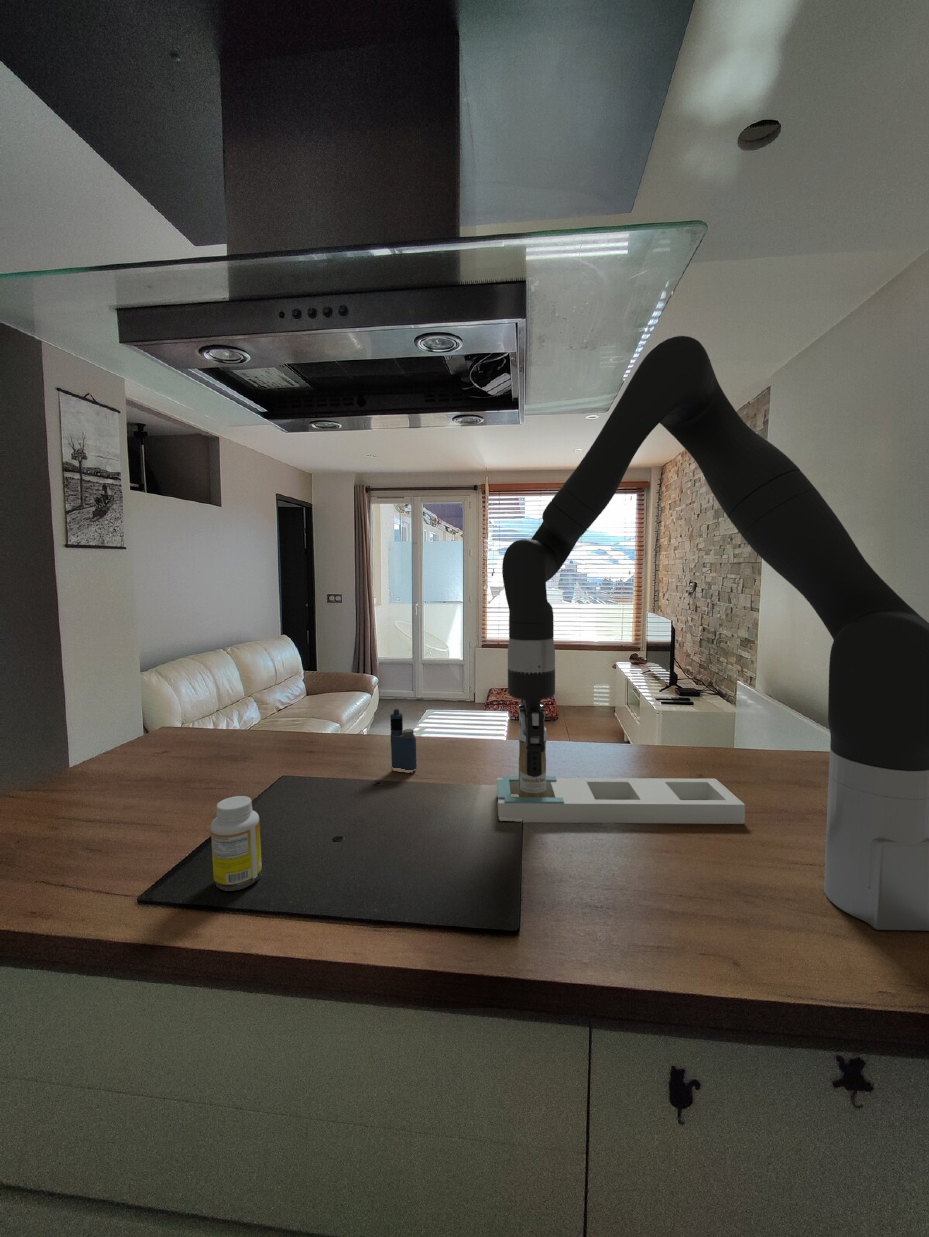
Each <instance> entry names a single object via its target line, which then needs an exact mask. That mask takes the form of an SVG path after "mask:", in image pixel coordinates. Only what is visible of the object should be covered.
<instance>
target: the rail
mask: <svg viewBox="0 0 929 1237" xmlns="http://www.w3.org/2000/svg"><path fill="white" fill-rule="evenodd" d="M511 794H518V795H519V775H516V776H514V775H510V776H509V775H505V776H503V775H502V777H496V795H497V797H498V802H497V815H498V816H499V817H506V818H518V819H519V818H521V819H522V820H523V822H522V823H553V824H554V823H558V824H559V823H567V824H568V823H569V824H570V823H571V824H572V823H573V824H574V823H576V824H577V823H578V824H579V823H581V824H583V823H584V824H590V823H591V824H698V825H699V824H708V825H709V824H712V825H713V824H716V825H719V824H720V825H721V824H723V825H727V824H728V825H730V824H732V825H744V824H745V820H746V819H745V818H746V817H745V814H746V804H745V803H744V802H743V801H742V800H741V799H739V798H738V797H737V796H735V795H734V793H732V792H731V791H730V790H729V789H728V788H727V787H726V786H725V785H723V784H722V783H721V782H720V781H719V780H717V779H716V778H676V777H675V778H673V777H672V778H671V777H670V778H659V777H658V778H657V777H656V778H655V777H654V778H653V777H650V778H639V777H638V778H636V777H634V778H633V777H632V778H631V777H629V778H626V777H624V778H623V777H622V778H621V777H617V778H615V777H614V778H611V777H610V778H609V777H607V778H606V777H601V778H600V777H598V778H597V777H589V778H588V777H585V778H584V777H569V778H568V777H557V776H554V775H553V776H549V775H546V795H545V797H511ZM497 797H496V798H497ZM498 816H497V817H498Z"/></svg>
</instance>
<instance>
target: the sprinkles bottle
mask: <svg viewBox="0 0 929 1237" xmlns="http://www.w3.org/2000/svg"><path fill="white" fill-rule="evenodd" d="M544 729H545V734H544V746H545V750H544V752H541V775H540V776H528V775H527V752H526V750H525V747H526V740H525V738H523V737H522V726H520V725H519V727H518V731H517V732H518V733H517V738H518V745H519V748H518V749H519V750H518V751H519V752H518V753H519V754H518V776H519V797H545V795H546V776H547V756H546V750H547V749H546V748H547V746H546V744H547V740H548V730H547V728H546V726H544ZM531 744H538V739H537V738H531Z"/></svg>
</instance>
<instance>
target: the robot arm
mask: <svg viewBox="0 0 929 1237" xmlns="http://www.w3.org/2000/svg"><path fill="white" fill-rule="evenodd" d="M659 424H660V425H661V426H662V427H663V428H665V430H666V431H667V432H668V433H669V434H671V435H672V436H673V437H674V439H676V441H677V442H678V443H679V444H680V445H681V446H682V447H683V448H684V449H685V451H687V452H688V454H689V455H690V456H691V457H692V459H693V460H694V461H695V462H696V464H697V466H698V467H699V469H700V471H701V473H702V475H703V477H704V479H705V480H706V483H707V485H708V487H709V490H710V491H711V493H712V494H713V496H714V497H715V500H716V501H717V503H718V504H719V506H720V507H721V509H722V511H723V512H724V514H725V515H726V517H727V518H728V519H729V521H730V522H731V523H732V525H733V526H734V527H735V529H736V530H737V532H738V533H739V534H740V536H741V537H742V538H743V539H744V541H745V542H746V543H747V544H748V545H749V546H750V548H752V550H753V551H754V553H756V554H757V555H758V556H759V557H760V558H761V559H762V560H763V561H764V562H765V563H766V564H767V565H769V566H770V567H771V568H772V569H773V570H774V571H775V572H776V573H778V574H779V575H780V577H782V578H783V579H785V581H787V582H788V583H789V584H790V585H791V586H792V587H793V588H795V589H796V591H798V592H799V593H800V594H801V595H802V596H803V598H805V600H806V601H807V603H809V604H810V606H811V607H812V609H813V610H814V611H815V613H816V614H817V616H818V618H820V620H821V622H822V623H823V625H824V626H825V628H826V630H827V632H828V633H829V635H830V636H831V638H832V639H833V642H832V644H831V646H830V647H831V649H830V654H829V665H828V694H827V695H828V699H827V700H828V701H827V702H828V703H827V704H828V705H827V709H828V710H827V724H828V728H829V733H830V741H829V742H830V746H829V747H830V748H829V765H828V767H829V768H828V783H827V784H828V788H827V806H826V807H827V810H826V833H825V834H826V835H825V851H824V853H825V855H824V879H823V880H824V883H823V884H824V885H823V891H824V894H825V896H826V897H827V900H829V901H830V902H831V903H833V904H834V906H836V907H837V908H839V909H840V910H842V911H843V912H845V913H847V914H848V915H850V916H852V917H854V918H857V919H858V920H862V921H863V922H866V923H867V924H869V926H871V927H872V929H874V930H879V931H928V932H929V622H928V621H927V620H926V619H925V618H924V617H922V616H921V615H920V614H919V612H917V611H916V610H915V609H914V608H912V607H911V606H910V605H909V604H908V602H906V601H905V600H904V599H902V597H901V596H900V595H898V594H897V593H896V591H894V589H893V588H892V587H890V585H888V583H887V582H885V580H884V579H882V578H881V577H880V575H879V574H878V573H877V572H876V571H875V570H874V569H873V568H872V566H871V565H870V563H868V561H867V560H866V559H865V558H864V556H863V554H862V553H861V552H860V550H859V548H858V547H857V544H855V542H854V540H853V539H852V537H851V536H850V534H849V532H848V530H847V529H846V528H845V526H844V524H843V523H842V522H841V521H840V519H839V518H838V516H837V514H836V513H835V512H834V511H833V509H832V508H831V506H830V505H829V504H828V503H827V501H826V500H825V498H823V496H822V494H821V493H820V492H819V491H818V490H817V488H816V486H814V485H813V483H812V482H811V480H809V479H808V477H807V476H806V475H805V474H804V472H802V470H801V469H800V468H799V467H798V466H797V465H796V464H795V463H794V461H793V460H791V459H790V458H789V457H788V456H787V455H786V454H785V453H784V452H783V451H782V450H780V449H779V448H778V447H776V446H775V445H774V444H773V443H771V442H770V441H769V440H767V439H765V438H764V437H762V435H760V434H759V433H757V432H755V430H753V429H752V428H751V427H750V426H748V424H747V423H746V422H745V421H744V420H743V418H742V417H741V416H740V415H739V414H738V412H737V411H736V409H735V408H734V406H733V405H732V403H731V402H730V400H729V399H728V397H727V396H726V394H725V393H724V391H723V388H722V387H721V385H720V383H719V381H718V378H717V376H716V373H715V371H714V368H713V365H712V362H711V359H710V357H709V355H708V353H707V350H706V349H705V347H704V346H703V345H702V343H701V342H700V341H699V340H697V339H696V338H694V337H691V336H688V335H675V336H671V337H668V338H666V339H665V340H662V341H660V342H659V343H657V344H656V345H655V346H654V347H652V348H651V349H650V350H649V352H648V353H647V354H646V355H645V356H644V358H643V359H642V360H641V362H640V364H639V366H638V367H637V369H636V370H635V371H634V374H633V375H632V377H631V379H630V381H629V382H628V384H627V386H626V388H625V389H624V391H623V392H622V395H621V396H620V398H619V400H618V402H617V404H616V405H615V407H614V408H613V410H612V412H611V414H610V415H609V417H608V418H607V420H606V421H605V424H604V425H603V427H602V429H601V430H600V432H599V433H598V435H597V436H596V438H595V440H594V441H593V443H592V445H591V446H590V448H589V449H588V451H587V452H586V453H585V455H584V457H583V458H582V459H581V461H580V462H579V463H578V465H577V466H576V467H575V469H574V471H573V472H572V473H571V475H569V477H568V478H567V480H566V481H565V482H564V484H563V485H562V486H561V487H560V489H558V491H557V492H556V493H555V495H554V496H553V497H552V499H551V500H550V501H549V503H548V504H547V506H546V507H545V508H544V510H543V513H542V523H541V524H540V525H539V527H538V529H537V530H536V531H535V533H534V534H533V535H532V537H530V539H529V538H521V539H517V540H515V541H514V542H512V543H510V545H509V546H508V547H507V548H506V550H505V552H504V555H503V559H502V566H501V572H502V574H501V575H502V581H503V586H504V593H505V594H504V595H505V597H506V598H505V599H506V603H507V606H508V614H509V615H508V647H507V693H508V696H510V697H512V698H514V699H516V700H520V704H519V705H518V719H519V727H520V726H522V737H523V738H525V740H526V747H525V750H526V752H527V775H528V776H540V775H541V752H544V750H545V746H544V734H545V729H544V727H545V718H546V710H545V709H544V705H543V704H541V701H543V700H544V699H545V700H548V699H551V698H552V697H554V696H555V695H556V649H555V643H554V642H555V640H554V635H555V634H554V631H555V630H554V629H555V628H554V620H555V619H554V609H553V605H552V604H551V603H550V602H549V601H548V597H547V596H548V594H547V593H548V592H547V582H548V581H550V580H551V579H552V578H554V576H555V575H556V574H557V573H558V572H559V571H560V569H561V568H562V567H563V565H564V564H565V562H566V560H567V559H568V557H569V556H570V555H571V553H572V551H573V550H574V547H576V544H577V543H578V541H579V539H580V538H581V537H582V536H583V535H584V534H585V533H586V531H588V529H589V528H590V527H591V525H593V523H594V522H595V521H596V520H597V519H598V518H599V516H600V515H601V514H602V512H603V511H604V510H605V509H606V508H607V506H608V505H609V504H610V502H611V501H612V499H613V498H614V496H615V494H616V493H617V490H618V489H619V487H620V484H621V482H622V481H623V478H624V476H625V474H626V472H627V470H628V469H629V466H630V464H631V462H632V461H633V459H634V456H635V455H636V453H637V452H638V450H639V448H640V447H641V445H642V444H643V443H644V442H645V440H646V439H647V438H648V437H649V435H650V434H651V433H652V432H653V430H654V429H655V428H657V426H658V425H659ZM531 738H537V739H538V744H531Z"/></svg>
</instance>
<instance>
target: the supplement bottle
mask: <svg viewBox="0 0 929 1237" xmlns="http://www.w3.org/2000/svg"><path fill="white" fill-rule="evenodd" d="M260 825H261V824H260V816H259V814H258V813H257V811H256V810H253V805H252V799H251V797H249V796H246V795H236V796H231V797H230V796H229V797H227V798H224V799H223V800H220V801H219V802H218V803H217V804H216V817H215V818H213V820H212V821H211V823H210V838H211V839H210V840H211V854H212V855H211V857H212V869H213V870H212V872H213V875H212V876H213V882H214V881H215V882H216V883H217V884H218V885H221V886H224V887H225V886H226V887H234V886H239V885H242V884H244V883H247V882H249V881H251V880H253V879H254V878H256V877H257V876H258V875H259V874H260V873H261V870H262V871H263V869H262V868H263V867H262V866H263V864H262V862H263V861H262V847H261V846H262V845H261V826H260Z"/></svg>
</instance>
